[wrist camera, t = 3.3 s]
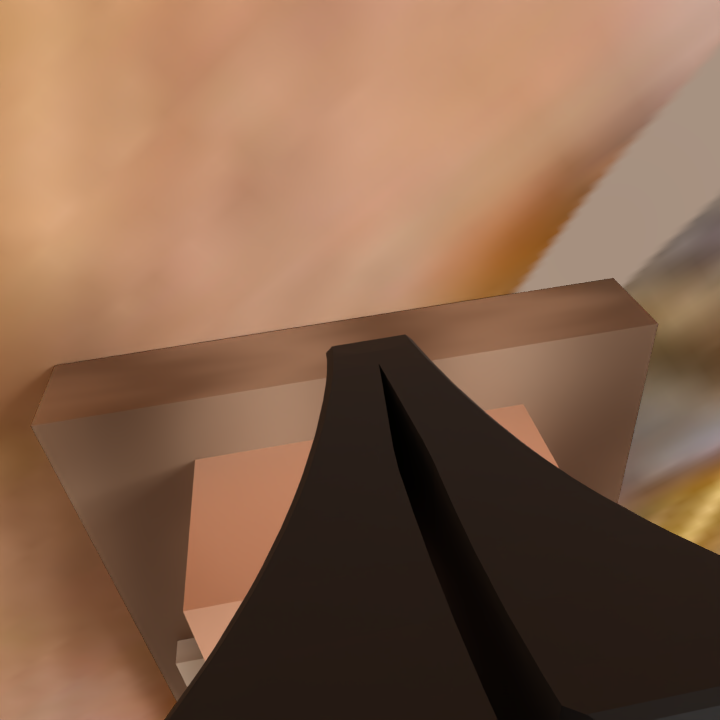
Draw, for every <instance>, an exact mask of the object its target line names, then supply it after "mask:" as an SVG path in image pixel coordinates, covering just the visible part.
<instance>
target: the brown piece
mask: <svg viewBox="0 0 720 720" xmlns="http://www.w3.org/2000/svg"><path fill="white" fill-rule="evenodd" d="M657 327H658V323H657V322H656V321H655V320H654V319H653V318H652V317H651V316H650V315H649V314H648V313H647V312H646V311H645V310H644V309H643V308H642V307H641V306H640V305H639V304H638V303H637V302H636V301H635V300H634V299H633V298H632V297H631V296H630V295H629V294H628V293H627V292H626V291H625V290H624V289H623V288H622V287H621V285H620V284H619V283H618V282H617V281H615V279H614V278H611V279H604V280H598V281H591V282H585V283H579V284H573V285H566V286H560V287H553V288H547V289H541V290H534V291H528V292H521V293H515V294H509V295H502V296H496V297H490V298H483V299H477V300H470V301H464V302H458V303H451V304H445V305H439V306H432V307H426V308H420V309H413V310H407V311H400V312H394V313H388V314H381V315H375V316H369V317H362V318H356V319H349V320H343V321H337V322H330V323H324V324H318V325H311V326H305V327H299V328H292V329H286V330H279V331H273V332H267V333H260V334H254V335H248V336H241V337H235V338H228V339H222V340H216V341H209V342H203V343H197V344H190V345H184V346H178V347H171V348H165V349H158V350H152V351H146V352H139V353H133V354H127V355H120V356H114V357H108V358H101V359H95V360H88V361H82V362H76V363H69V364H63V365H57V366H54V369H53V371H52V374H51V376H50V379H49V381H48V384H47V386H46V389H45V391H44V394H43V396H42V399H41V401H40V404H39V406H38V409H37V411H36V414H35V416H34V419H33V421H32V424H31V428H32V429H33V431H34V433H35V435H36V437H37V439H38V441H39V443H40V445H41V446H42V448H43V450H44V452H45V454H46V456H47V458H48V460H49V462H50V463H51V465H52V467H53V469H54V471H55V473H56V475H57V477H58V479H59V480H60V482H61V484H62V486H63V488H64V490H65V492H66V494H67V495H68V497H69V499H70V501H71V503H72V505H73V507H74V509H75V511H76V512H77V514H78V516H79V518H80V520H81V522H82V524H83V526H84V528H85V529H86V531H87V533H88V535H89V537H90V539H91V541H92V543H93V545H94V546H95V548H96V550H97V552H98V554H99V556H100V558H101V560H102V562H103V563H104V565H105V567H106V569H107V571H108V573H109V575H110V577H111V578H112V580H113V582H114V584H115V586H116V588H117V590H118V592H119V594H120V595H121V597H122V599H123V601H124V603H125V605H126V607H127V609H128V611H129V612H130V614H131V616H132V618H133V620H134V622H135V624H136V626H137V628H138V629H139V631H140V633H141V635H142V637H143V639H144V641H145V643H146V645H147V646H148V648H149V650H150V652H151V654H152V656H153V658H154V660H155V661H156V663H157V665H158V667H159V669H160V671H161V673H162V675H163V677H164V678H165V680H166V682H167V684H168V686H169V688H170V690H171V692H172V694H173V695H174V697H175V699H176V701H178V700H179V698H180V697H181V696H182V694H183V693H184V691H185V690H186V688H187V687H188V686H189V684H190V683H191V681H192V680H193V679H194V677H195V676H196V674H197V673H198V671H199V670H200V669H201V667H202V666H203V664H204V663H205V660H204V658H203V656H202V653H201V651H200V649H199V646H198V644H197V642H196V640H195V637H194V635H193V633H192V631H191V628H190V626H189V624H188V622H187V619H186V617H185V615H184V613H183V605H184V593H185V580H186V567H187V555H188V542H189V530H190V517H191V505H192V492H193V480H194V467H195V460H197V459H203V458H209V457H215V456H221V455H227V454H232V453H238V452H244V451H250V450H256V449H262V448H268V447H274V446H280V445H285V444H291V443H297V442H303V441H309V440H314V437H315V433H316V429H317V425H318V420H319V416H320V412H321V407H322V403H323V398H324V391H325V385H326V376H327V358H326V352H327V351H328V350H329V349H330V348H331V347H332V346H337V345H343V344H349V343H355V342H361V341H367V340H373V339H380V338H386V337H392V336H398V335H404V334H406V335H407V336H408V337H410V338H411V339H412V340H413V341H414V342H415V343H416V344H417V346H418V347H419V348H420V349H421V350H422V351H423V352H424V353H425V354H426V355H427V357H428V358H429V359H430V360H431V361H432V362H433V363H434V364H435V365H436V366H437V367H438V368H439V369H440V370H441V371H442V372H443V373H444V374H445V375H446V376H447V377H448V378H449V379H450V380H451V381H452V382H453V383H454V384H455V385H456V386H457V387H458V388H459V389H460V390H462V391H463V392H464V393H465V394H466V395H467V396H468V397H469V398H470V399H471V400H473V401H474V402H475V403H476V404H477V405H478V406H479V407H480V408H481V409H482V410H484V411H486V410H492V409H497V408H503V407H509V406H515V405H521V404H524V406H525V408H526V410H527V412H528V413H529V415H530V417H531V419H532V420H533V422H534V424H535V426H536V428H537V429H538V431H539V433H540V435H541V437H542V438H543V440H544V442H545V444H546V445H547V447H548V449H549V451H550V453H551V454H552V456H553V458H554V460H555V461H556V463H557V465H558V467H559V469H561V470H562V471H564V472H565V473H567V474H568V475H570V476H571V477H573V478H574V479H576V480H577V481H579V482H581V483H582V484H584V485H586V486H587V487H589V488H590V489H592V490H594V491H595V492H597V493H599V494H601V495H603V496H604V497H606V498H608V499H610V500H612V501H613V502H615V503H618V499H619V494H620V490H621V485H622V481H623V477H624V472H625V468H626V463H627V459H628V455H629V450H630V446H631V441H632V437H633V433H634V428H635V424H636V419H637V415H638V410H639V406H640V402H641V397H642V393H643V388H644V384H645V380H646V375H647V371H648V366H649V362H650V358H651V353H652V349H653V344H654V340H655V335H656V331H657Z"/></svg>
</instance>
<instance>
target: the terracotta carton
mask: <svg viewBox="0 0 720 720" xmlns="http://www.w3.org/2000/svg"><path fill="white" fill-rule="evenodd" d="M485 412H486V413H487V414H488V415H489V416H491V417H492V418H493V419H494V420H495V421H497V422H498V423H499V424H500V425H501V426H503V427H504V428H505V429H506V430H508V431H509V432H510V433H511V434H513V435H514V436H515V437H516V438H518V439H519V440H520V441H522V442H523V443H524V444H526V445H527V446H528V447H530V448H531V449H532V450H534V451H535V452H536V453H538V454H539V455H540V456H542V457H543V458H545V459H546V460H547V461H549V462H550V463H552V464H553V465H555V466H556V467H558V465H557V463H556V461H555V460H554V458H553V456H552V454H551V453H550V451H549V449H548V447H547V445H546V444H545V442H544V440H543V438H542V437H541V435H540V433H539V431H538V429H537V428H536V426H535V424H534V422H533V420H532V419H531V417H530V415H529V413H528V412H527V410H526V408H525V406H524V404H521V405H515V406H509V407H503V408H497V409H492V410H486V411H485ZM312 443H313V440H309V441H303V442H297V443H291V444H285V445H280V446H274V447H268V448H262V449H256V450H250V451H244V452H238V453H232V454H227V455H221V456H215V457H209V458H203V459H197V460H195V467H194V480H193V492H192V505H191V517H190V530H189V542H188V555H187V567H186V580H185V593H184V605H183V613H184V615H185V617H186V619H187V622H188V624H189V626H190V628H191V631H192V633H193V635H194V637H195V640H196V642H197V644H198V646H199V649H200V651H201V653H202V656H203V658H204V660H205V661H206V660H207V658H208V657H209V655H210V654H211V652H212V651H213V649H214V648H215V646H216V644H217V643H218V641H219V639H220V638H221V636H222V634H223V633H224V631H225V629H226V628H227V626H228V624H229V623H230V621H231V619H232V618H233V616H234V614H235V613H236V611H237V610H238V608H239V606H240V605H241V603H242V601H243V600H244V598H245V596H246V595H247V593H248V591H249V589H250V588H251V586H252V584H253V582H254V580H255V579H256V577H257V575H258V573H259V571H260V569H261V567H262V565H263V563H264V561H265V559H266V557H267V555H268V553H269V551H270V549H271V547H272V545H273V543H274V541H275V539H276V537H277V535H278V533H279V531H280V529H281V526H282V524H283V522H284V520H285V517H286V515H287V513H288V510H289V508H290V506H291V503H292V501H293V498H294V496H295V493H296V491H297V488H298V485H299V483H300V480H301V477H302V474H303V471H304V468H305V465H306V462H307V459H308V456H309V453H310V449H311V446H312ZM558 468H559V467H558Z"/></svg>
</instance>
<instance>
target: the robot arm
mask: <svg viewBox="0 0 720 720" xmlns="http://www.w3.org/2000/svg"><path fill="white" fill-rule="evenodd" d="M326 358H327V376H326V385H325V391H324V398H323V403H322V407H321V412H320V416H319V420H318V425H317V429H316V433H315V437H314V440H313V443H312V446H311V449H310V453H309V456H308V459H307V462H306V465H305V468H304V471H303V474H302V477H301V480H300V483H299V485H298V488H297V491H296V493H295V496H294V498H293V501H292V503H291V506H290V508H289V510H288V513H287V515H286V517H285V520H284V522H283V524H282V526H281V529H280V531H279V533H278V535H277V537H276V539H275V541H274V543H273V545H272V547H271V549H270V551H269V553H268V555H267V557H266V559H265V561H264V563H263V565H262V567H261V569H260V571H259V573H258V575H257V577H256V579H255V580H254V582H253V584H252V586H251V588H250V589H249V591H248V593H247V595H246V596H245V598H244V600H243V601H242V603H241V605H240V606H239V608H238V610H237V611H236V613H235V614H234V616H233V618H232V619H231V621H230V623H229V624H228V626H227V628H226V629H225V631H224V633H223V634H222V636H221V638H220V639H219V641H218V643H217V644H216V646H215V648H214V649H213V651H212V652H211V654H210V655H209V657H208V658H207V660H206V661H205V663H204V664H203V666H202V667H201V669H200V670H199V671H198V673H197V674H196V676H195V677H194V679H193V680H192V681H191V683H190V684H189V686H188V687H187V688H186V690H185V691H184V693H183V694H182V696H181V697H180V698H179V700H178V701H177V703H176V704H175V705H174V707H173V708H172V710H171V711H170V713H169V714H168V715H167V717H166V718H165V720H720V555H718V554H716V553H714V552H712V551H710V550H707V549H705V548H703V547H701V546H699V545H697V544H695V543H693V542H690V541H688V540H686V539H684V538H682V537H680V536H678V535H676V534H673V533H671V532H669V531H667V530H665V529H663V528H662V527H660V526H658V525H656V524H654V523H652V522H650V521H648V520H646V519H644V518H642V517H640V516H639V515H637V514H635V513H633V512H631V511H630V510H628V509H626V508H624V507H622V506H621V505H619V504H617V503H615V502H613V501H612V500H610V499H608V498H606V497H604V496H603V495H601V494H599V493H597V492H595V491H594V490H592V489H590V488H589V487H587V486H586V485H584V484H582V483H581V482H579V481H577V480H576V479H574V478H573V477H571V476H570V475H568V474H567V473H565V472H564V471H562V470H561V469H559V468H558V467H556V466H555V465H553V464H552V463H550V462H549V461H547V460H546V459H545V458H543V457H542V456H540V455H539V454H538V453H536V452H535V451H534V450H532V449H531V448H530V447H528V446H527V445H526V444H524V443H523V442H522V441H520V440H519V439H518V438H516V437H515V436H514V435H513V434H511V433H510V432H509V431H508V430H506V429H505V428H504V427H503V426H501V425H500V424H499V423H498V422H497V421H495V420H494V419H493V418H492V417H491V416H489V415H488V414H487V413H486V412H485V411H484V410H482V409H481V408H480V407H479V406H478V405H477V404H476V403H475V402H474V401H473V400H471V399H470V398H469V397H468V396H467V395H466V394H465V393H464V392H463V391H462V390H460V389H459V388H458V387H457V386H456V385H455V384H454V383H453V382H452V381H451V380H450V379H449V378H448V377H447V376H446V375H445V374H444V373H443V372H442V371H441V370H440V369H439V368H438V367H437V366H436V365H435V364H434V363H433V362H432V361H431V360H430V359H429V358H428V357H427V355H426V354H425V353H424V352H423V351H422V350H421V349H420V348H419V347H418V346H417V344H416V343H415V342H414V341H413V340H412V339H411V338H410V337H408V336H407V335H406V334H404V335H398V336H392V337H386V338H380V339H373V340H367V341H361V342H355V343H349V344H343V345H337V346H332V347H331V348H330V349H329V350H328V351H327V352H326Z"/></svg>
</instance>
